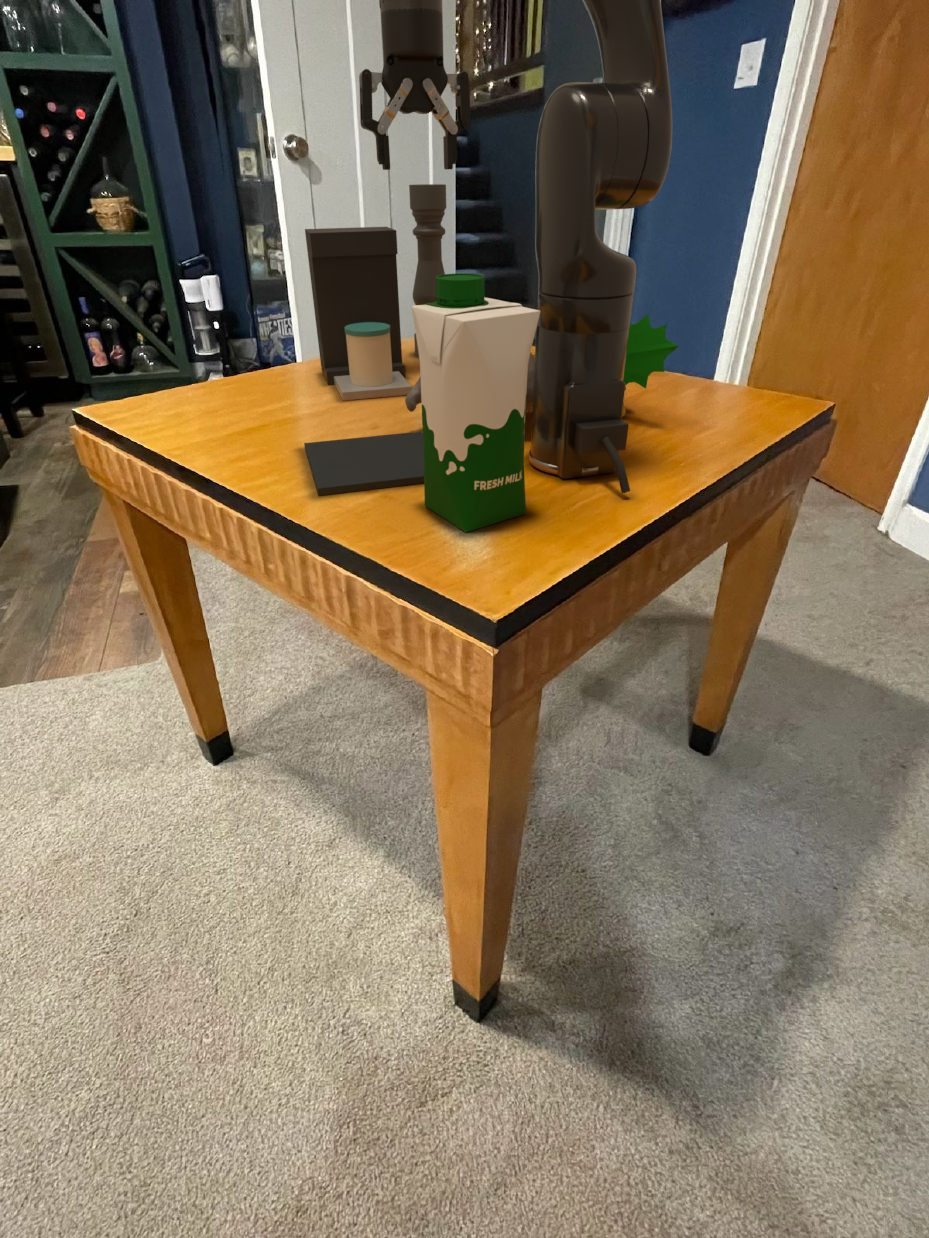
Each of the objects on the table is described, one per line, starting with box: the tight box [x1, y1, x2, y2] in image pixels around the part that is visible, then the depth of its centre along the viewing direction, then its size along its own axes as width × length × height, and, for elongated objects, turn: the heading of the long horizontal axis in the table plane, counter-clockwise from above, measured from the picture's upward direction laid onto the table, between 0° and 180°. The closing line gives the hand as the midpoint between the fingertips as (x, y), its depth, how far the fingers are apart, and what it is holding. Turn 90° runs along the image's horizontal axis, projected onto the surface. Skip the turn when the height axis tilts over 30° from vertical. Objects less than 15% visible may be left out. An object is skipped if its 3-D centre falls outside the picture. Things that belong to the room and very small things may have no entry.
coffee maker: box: [304, 226, 413, 402], centre depth 99 cm, size 17×12×20 cm
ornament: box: [533, 313, 679, 418], centre depth 89 cm, size 21×8×15 cm, turn 44°
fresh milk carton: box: [411, 273, 540, 533], centre depth 60 cm, size 9×9×20 cm
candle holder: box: [408, 183, 447, 358], centre depth 113 cm, size 6×6×25 cm
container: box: [345, 322, 393, 387], centre depth 98 cm, size 6×6×8 cm
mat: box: [304, 431, 424, 496], centre depth 76 cm, size 14×14×1 cm
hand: (417, 169), depth 92 cm, fingers open, 8 cm apart
